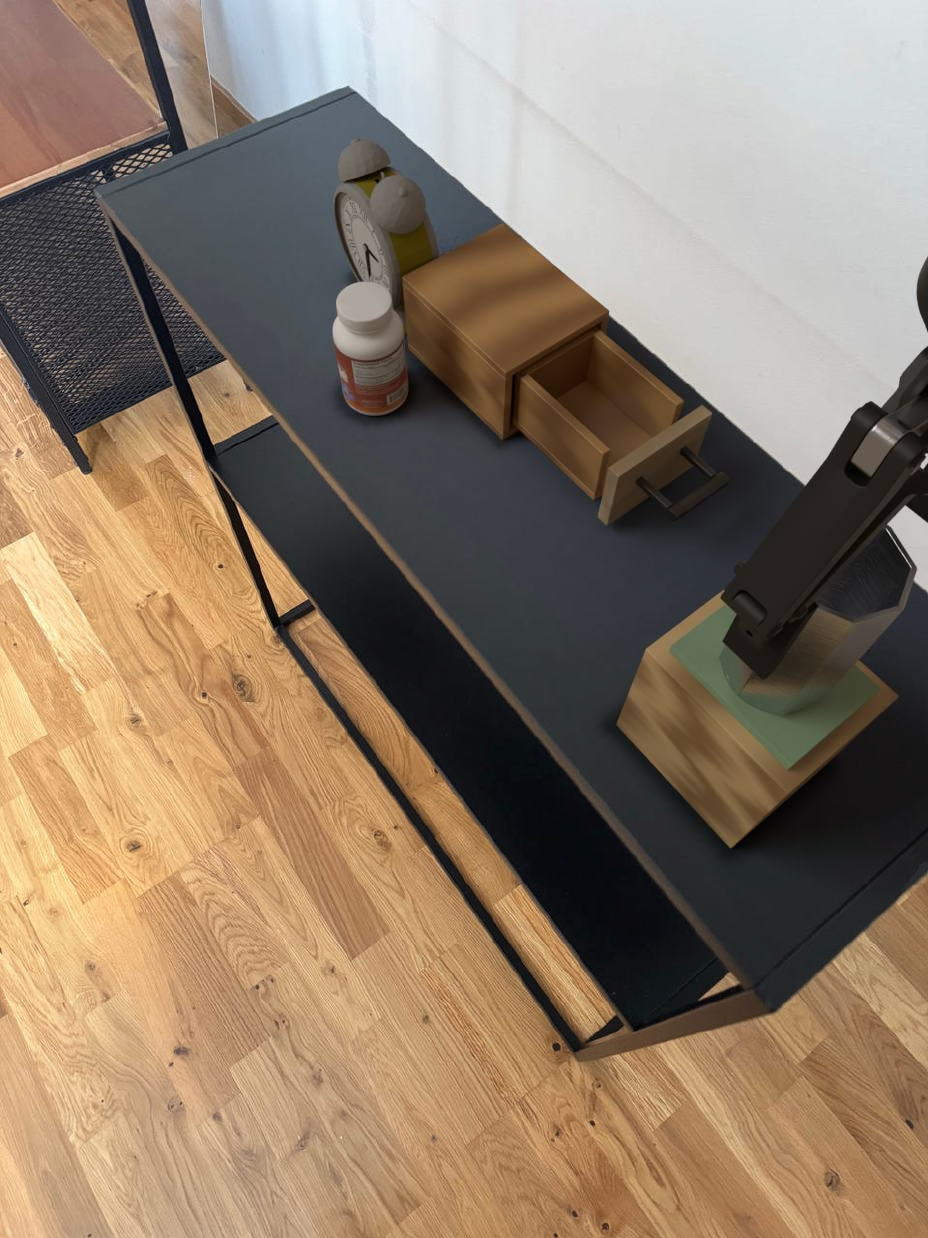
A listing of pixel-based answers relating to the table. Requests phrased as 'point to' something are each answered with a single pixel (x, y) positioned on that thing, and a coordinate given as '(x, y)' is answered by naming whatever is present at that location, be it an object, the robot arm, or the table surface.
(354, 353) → the pill bottle
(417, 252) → the alarm clock
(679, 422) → the drawer
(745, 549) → the table surface
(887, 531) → the metal cup
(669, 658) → the stand
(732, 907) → the table surface
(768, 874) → the table surface
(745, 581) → the robot arm
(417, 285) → the cabinet
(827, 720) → the mat
